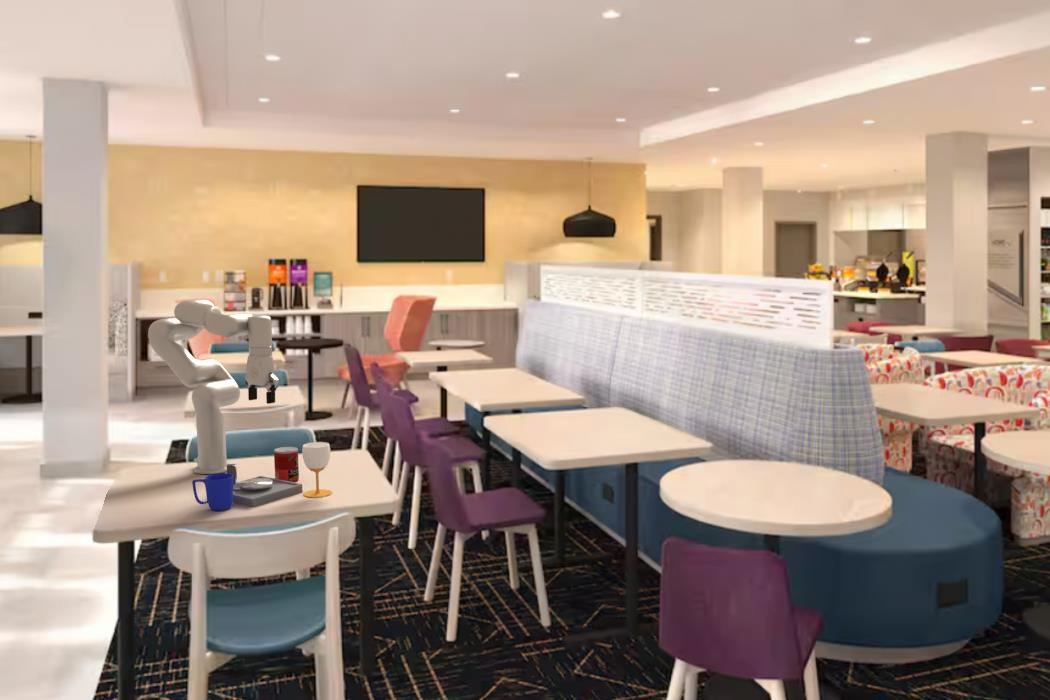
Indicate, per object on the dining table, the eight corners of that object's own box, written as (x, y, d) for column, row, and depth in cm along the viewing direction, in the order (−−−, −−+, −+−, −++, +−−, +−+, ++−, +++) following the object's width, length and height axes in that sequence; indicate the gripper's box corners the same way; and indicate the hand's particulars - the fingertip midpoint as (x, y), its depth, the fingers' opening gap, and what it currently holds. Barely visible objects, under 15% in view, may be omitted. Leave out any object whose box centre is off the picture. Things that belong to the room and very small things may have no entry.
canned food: (293, 484, 296) (291, 452, 295) (271, 483, 298) (269, 451, 296) (303, 478, 303) (301, 447, 302) (281, 477, 305) (280, 446, 304)
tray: (210, 497, 281) (210, 489, 281) (260, 483, 297) (260, 475, 297) (252, 507, 270) (252, 498, 270) (302, 491, 287) (302, 484, 286)
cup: (307, 499, 278) (305, 449, 276) (300, 492, 286) (298, 443, 284) (335, 495, 282) (333, 446, 280) (328, 488, 290) (326, 440, 288)
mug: (197, 505, 272) (196, 473, 271) (237, 504, 273) (236, 472, 272) (190, 513, 264) (188, 480, 263) (231, 512, 265) (229, 479, 264)
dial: (274, 481, 289) (273, 459, 288) (270, 489, 279) (269, 466, 278) (230, 483, 287) (228, 461, 286) (224, 491, 277) (223, 469, 276)
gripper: (235, 350, 302) (236, 400, 304) (267, 355, 292) (268, 406, 294) (253, 348, 308) (255, 397, 310) (286, 352, 298) (287, 402, 300)
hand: (261, 401), depth 302 cm, fingers open, 9 cm apart
